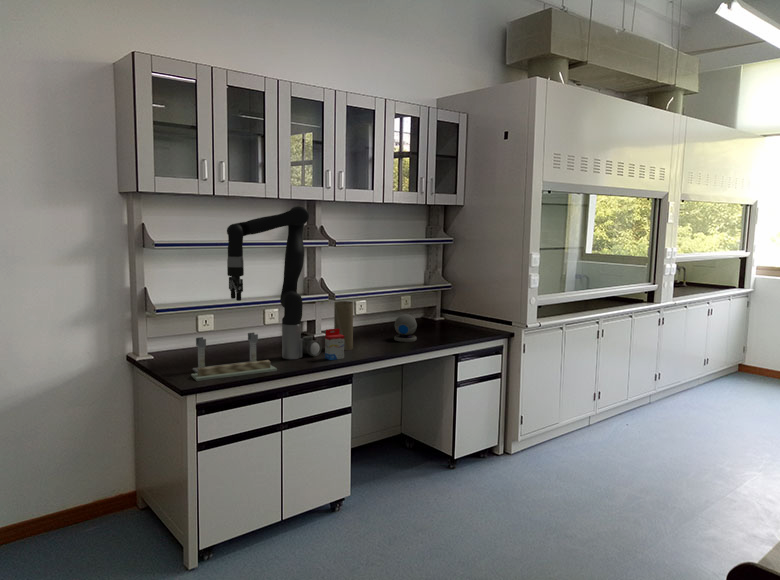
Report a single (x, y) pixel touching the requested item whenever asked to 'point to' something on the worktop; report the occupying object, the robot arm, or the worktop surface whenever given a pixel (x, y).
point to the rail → (233, 368)
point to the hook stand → (201, 363)
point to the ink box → (334, 345)
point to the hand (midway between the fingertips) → (235, 299)
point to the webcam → (405, 328)
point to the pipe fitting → (310, 346)
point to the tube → (344, 321)
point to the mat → (233, 374)
